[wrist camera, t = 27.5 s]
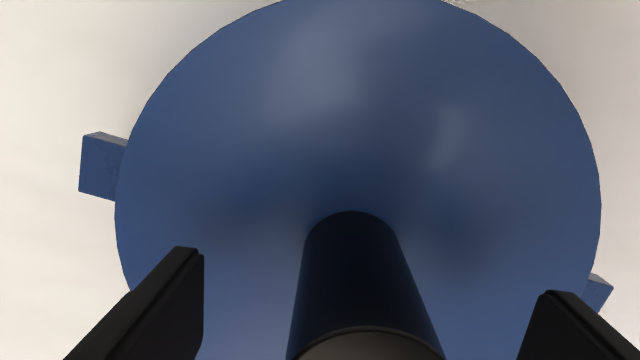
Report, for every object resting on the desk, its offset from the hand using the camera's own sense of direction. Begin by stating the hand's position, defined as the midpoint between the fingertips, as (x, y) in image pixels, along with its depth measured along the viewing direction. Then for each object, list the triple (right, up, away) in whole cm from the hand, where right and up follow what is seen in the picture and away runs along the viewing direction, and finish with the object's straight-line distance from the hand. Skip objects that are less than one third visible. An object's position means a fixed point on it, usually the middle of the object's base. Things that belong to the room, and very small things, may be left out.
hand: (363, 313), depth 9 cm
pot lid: (0, +1, +4) cm, 4 cm away
